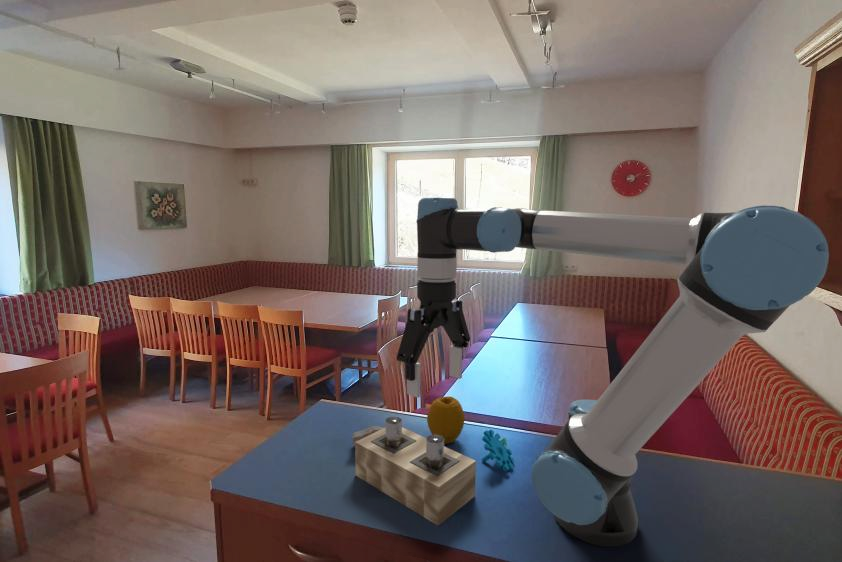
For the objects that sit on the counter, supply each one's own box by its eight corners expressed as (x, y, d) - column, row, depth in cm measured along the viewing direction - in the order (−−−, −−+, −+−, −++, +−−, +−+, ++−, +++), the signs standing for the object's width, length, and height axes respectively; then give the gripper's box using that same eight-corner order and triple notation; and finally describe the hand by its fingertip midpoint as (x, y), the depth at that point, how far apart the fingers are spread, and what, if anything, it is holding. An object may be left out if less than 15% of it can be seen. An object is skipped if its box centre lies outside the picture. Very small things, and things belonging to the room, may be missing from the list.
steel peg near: (447, 472, 92) (447, 438, 91) (435, 480, 89) (436, 445, 88) (433, 466, 94) (434, 432, 93) (422, 473, 91) (422, 439, 90)
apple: (445, 427, 123) (446, 386, 121) (472, 440, 115) (473, 397, 114) (419, 439, 116) (419, 396, 114) (445, 454, 109) (446, 408, 107)
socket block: (474, 496, 93) (476, 460, 92) (438, 525, 84) (438, 486, 83) (393, 454, 109) (393, 422, 107) (355, 475, 100) (355, 441, 99)
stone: (392, 439, 116) (392, 418, 115) (392, 457, 108) (392, 434, 107) (353, 441, 115) (353, 419, 114) (351, 458, 107) (350, 435, 106)
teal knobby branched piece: (508, 474, 98) (480, 435, 101) (489, 487, 100) (462, 448, 103) (522, 457, 108) (496, 421, 111) (504, 469, 110) (479, 434, 113)
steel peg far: (405, 451, 100) (405, 420, 98) (393, 458, 97) (393, 425, 96) (393, 445, 102) (393, 415, 101) (382, 452, 99) (382, 420, 98)
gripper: (459, 271, 97) (457, 366, 100) (376, 284, 79) (377, 398, 82) (488, 274, 92) (485, 374, 95) (406, 289, 74) (406, 410, 77)
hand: (435, 385), depth 89 cm, fingers open, 12 cm apart
